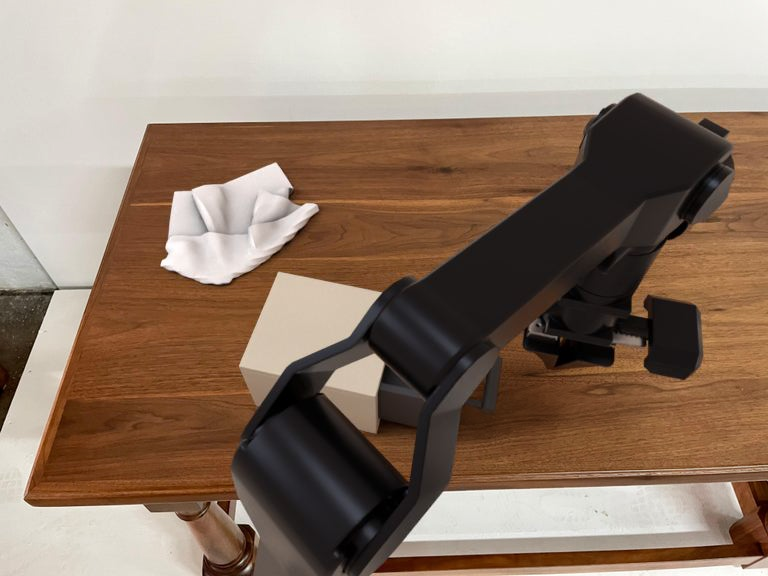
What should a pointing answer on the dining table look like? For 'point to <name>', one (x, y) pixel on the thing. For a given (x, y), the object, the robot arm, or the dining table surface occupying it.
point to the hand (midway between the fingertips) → (550, 364)
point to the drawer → (406, 404)
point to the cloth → (232, 225)
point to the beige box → (314, 343)
